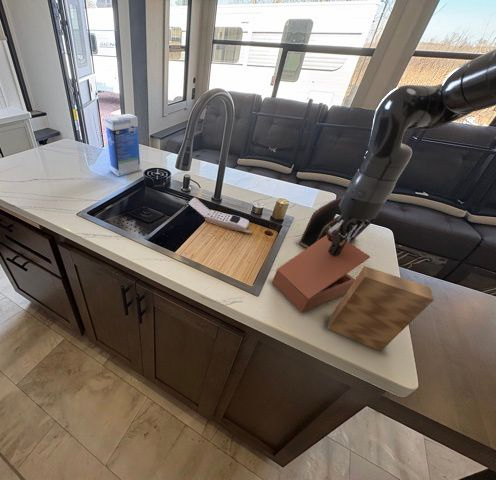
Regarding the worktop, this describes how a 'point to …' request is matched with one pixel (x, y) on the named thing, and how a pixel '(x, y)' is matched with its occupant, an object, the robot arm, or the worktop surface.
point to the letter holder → (320, 223)
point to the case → (318, 299)
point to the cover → (320, 266)
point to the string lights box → (123, 143)
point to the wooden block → (378, 307)
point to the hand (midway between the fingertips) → (332, 253)
